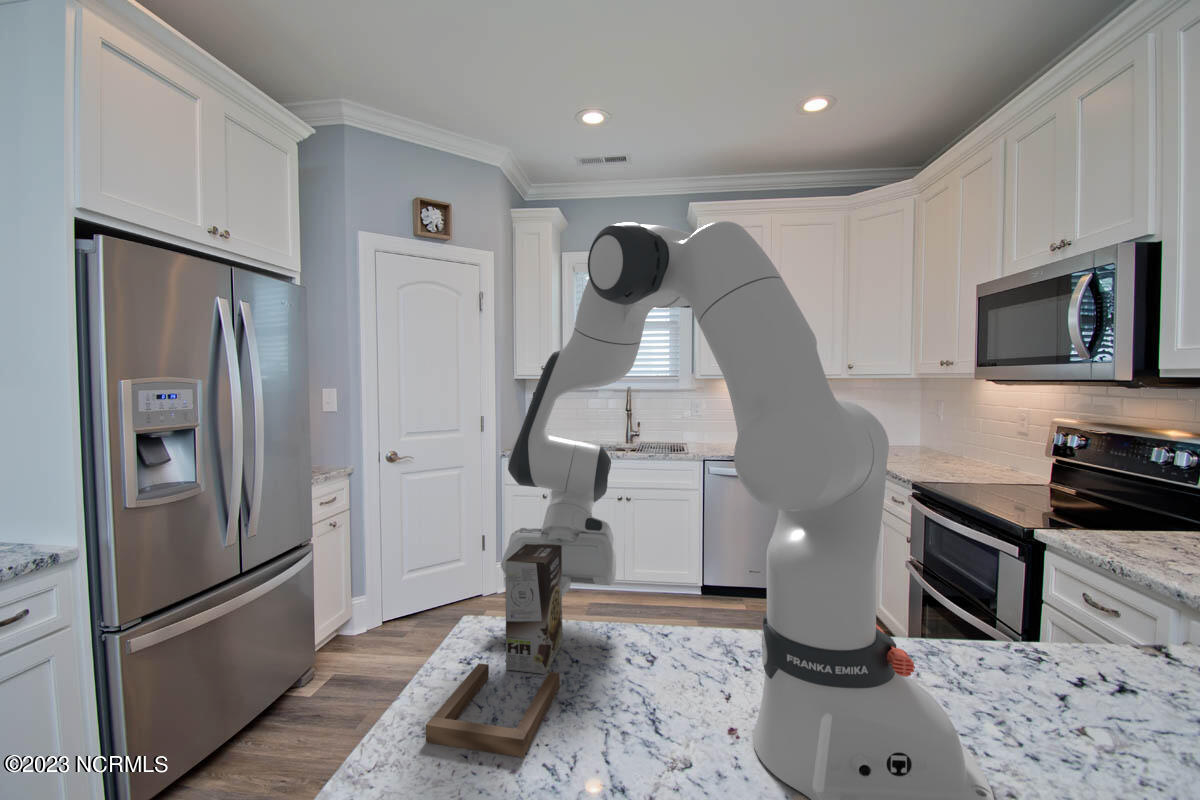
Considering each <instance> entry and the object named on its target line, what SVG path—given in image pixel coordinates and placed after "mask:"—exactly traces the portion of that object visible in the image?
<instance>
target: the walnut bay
mask: <svg viewBox="0 0 1200 800" xmlns="http://www.w3.org/2000/svg"><path fill="white" fill-rule="evenodd" d="M489 671H490V670H489V664H488V663H487V664H486V663H478V664H477V665H476V666H475V667H474V668H473V669H472V670H471V672H470V673H469V674H468V675H467V676H466V678H465V679H464V680H463V681H462V682H461V683H460V684H459V686H457V688H456V689H455V690H454V692H452V693H451V694H450V695H449V697H448V699H446V701H444V703H443V704H442V705H441V706H440V707H439V709H438V710H437V711H436V712H435V713H434V714H433V716H432V717H431V718H430V719H429V720H428V721H427V722H426V724H425V743H428V744H435V745H442V746H449V747H454V748H455V747H456V748H461V749H465V750H466V749H468V750H471V751H472V750H473V751H479V752H486V753H492V754H500V755H506V756H510V755H511V756H512V757H516V756H517V758H524V757H525V756H526V754H527V752H528V750H529V748H530V746H531V744H532V742H533V740H534V738H535V736H536V734H537V733H538V731H539V729H540V726H541V725H542V723H543V721H544V719H545V717H546V715H547V713H548V712H549V709H550V707H551V706H552V704H553V702H554V700H555V698H556V695H557V694H558V692H559V690H560V687H561V680H560V679H561V676H560V675H561V674H560V672H557V671H556V672H555V671H548V672H547V675H546V676H545V678H544V679H543V681H542V683H541V685H540V687H539V689H538V690H537V692H536V693H535V695H534V697H533V698H532V700H531V702H530V704H529V705H528V707H527V708H526V711H525V712H524V714H523V716H522V717H521V718H520V721H519V722H518V724H517V726H516V728H512V727H506V726H499V725H492V724H485V723H478V722H470V721H465V720H458V718H460V716H461V715H462V713H464V711H465V710H466V708H467V707H468V706H469V704H470V703H471V702H472V701H473V699H474V698H475V696H476V695H477V694H478V693H479V692H480V691H481V689H482V688H483V687H484V685H485V684H486V683H487V681H488V680H489V678H490V675H489V673H490V672H489Z"/></svg>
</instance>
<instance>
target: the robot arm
mask: <svg viewBox="0 0 1200 800" xmlns="http://www.w3.org/2000/svg"><path fill="white" fill-rule="evenodd" d="M587 272H588V279H587V281H586V285H585V287H584V290H583V293H582V296H581V299H580V302H579V305H578V310H577V313H576V316H575V317H576V318H575V322H574V329H573V330H572V331H573V332H572V335H571V336H570V339H569V341H568V342H567V344H566V345H565V346H564V347H563V348H562V349H561V350H557V351H554V352H553V353H552V354H551V355H550V356H549V357H548V360H547V361H546V363H545V366H544V367H543V370H542V371H541V375H540V378H539V380H538V383H537V384H536V388H535V390H534V392H533V396H532V398H531V401H530V404H529V407H528V409H527V412H526V415H525V418H524V421H523V424H522V425H521V429H520V432H519V433H518V436H517V437H516V439H515V440H514V441H513V444H512V446H511V448H510V452H509V453H508V459H507V470H508V472H509V475H510V476H511V477H512V479H514V481H515V482H516V484H518V486H524V487H532V488H542V489H548V490H551V493H550V497H551V499H550V503H549V504H548V506H547V508H546V512H545V515H544V520H543V524H542V527H541V528H536V527H535V528H527V527H520V528H519V529H517V530H515V531H513V532H512V533H511V534H510V537H509V541H508V546H507V547H506V550H505V552H504V554H503V557H502V559H501V561H500V562H501V563H500V568H501V570H502V572H503V574H504V575H505V576H506V560H507V559H508V558H510V557H511V556H512V555H513V554H514V553H516V552H517V551H518V550H519V549H520V548H521V547H523V546H524V545H525V544H535V545H537V544H550V545H561V546H562V598H563V597H564V596H565V595H566V593H567V592H568V591H569V590H571V589H570V588H571V584H572V583H573V584H585V585H587V584H588V585H599V586H600V585H601V586H611V585H612V584H613V583H614V582H615V580H616V575H617V557H616V552H615V549H614V544H615V543H614V534H613V530H612V528H611V526H610V524H609V523H608V522H607V521H605V520H603V519H599V518H597V517H593V508H594V506H595V504H596V502H598V501H599V500H600V499H602V497H604V496H605V495H606V493H607V490H608V480H609V479H608V477H609V474H610V471H611V464H612V460H611V458H610V455H609V454H608V452H607V451H606V450H605V449H604V447H603V446H601V445H598V444H595V443H590V442H587V441H580V440H574V439H569V438H566V437H565V438H564V437H560V436H556V435H552V434H549V433H547V431H546V430H545V429H546V427H547V424H548V421H549V419H550V417H551V413H552V411H553V409H554V405H555V404H556V401H557V400H558V399H559V398H560V397H561V396H563V395H565V394H567V393H570V392H571V393H572V392H574V391H580V390H583V389H584V390H585V389H593V388H601V387H605V386H608V385H610V384H613V383H616V382H618V381H619V380H621V379H622V378H624V377H625V376H626V375H627V374H628V373H630V371H631V370H632V369H633V366H634V363H635V361H636V359H637V356H638V352H639V350H640V345H641V342H642V338H643V332H644V327H645V322H646V320H647V316H648V314H649V313H650V312H651V311H652V310H653V309H654V308H657V309H671V308H672V309H673V308H675V309H676V308H682V309H683V308H685V309H689V308H690V309H691V311H692V313H693V315H694V318H695V319H696V321H697V322H696V323H698V326H699V328H700V330H701V333H702V334H703V336H704V338H705V340H706V342H707V344H708V347H709V349H710V351H711V352H712V355H713V357H714V358H715V361H716V364H717V365H718V368H719V369H720V371H721V373H722V376H723V378H724V382H725V385H726V387H727V390H728V394H729V397H730V402H731V407H732V410H733V415H734V420H735V426H736V431H737V438H736V442H735V446H734V453H733V461H734V462H733V463H734V468H735V473H736V475H737V478H738V479H739V481H740V482H739V483H740V484H741V485H742V487H743V489H745V491H746V492H747V493H748V494H749V495H750V496H751V497H753V499H754V500H755V501H757V502H758V503H760V504H762V505H764V506H766V507H768V508H770V509H774V510H778V516H777V520H776V522H775V523H776V524H775V526H774V530H773V534H772V536H771V538H770V540H769V543H768V545H767V550H766V614H765V615H764V616H763V619H762V629H761V657H762V658H761V662H762V665H763V670H764V678H763V679H764V680H763V689H762V695H761V701H760V707H759V711H758V715H757V716H758V717H757V720H756V723H755V726H754V729H753V732H752V744H753V748H754V750H755V753H756V755H757V756H758V758H759V760H761V762H762V763H763V765H764V766H765V767H766V768H767V769H768V770H769V771H770V772H771V773H772V774H773V775H774V776H775V777H776V778H778V779H779V780H781V781H782V782H784V783H785V784H787V785H788V786H790V787H791V788H793V789H795V790H797V791H798V792H800V793H802V794H803V795H805V796H806V797H807V798H808V799H810V800H995V797H994V793H993V790H992V787H991V785H990V783H989V781H988V778H987V777H986V775H985V774H984V773H983V771H982V769H981V768H980V766H979V765H978V764H977V762H976V761H975V759H974V758H973V757H972V756H971V754H970V753H968V751H967V750H966V749H965V748H964V747H963V746H962V744H961V741H960V738H959V734H958V733H957V730H956V728H955V726H954V724H953V722H952V720H951V718H950V716H948V713H946V711H945V709H943V707H942V706H941V705H940V703H939V702H938V701H937V700H936V699H935V698H934V697H933V696H932V694H930V693H929V692H928V691H927V690H926V689H925V688H923V687H922V686H921V685H919V683H917V682H916V681H914V680H913V679H912V678H910V676H911V675H912V674H913V673H915V669H916V666H915V663H914V661H913V659H912V658H911V657H910V656H909V655H908V653H907V651H905V650H903V649H902V648H898V647H897V644H896V642H895V641H894V639H893V638H892V637H891V636H889V635H888V634H886V633H885V632H884V630H883V628H881V627H880V626H878V625H877V558H878V550H879V549H878V548H879V541H880V534H881V526H882V520H883V511H884V503H885V502H884V501H885V493H886V480H887V468H888V467H887V466H888V458H889V452H890V445H889V444H890V443H889V437H888V434H887V431H886V429H885V428H884V426H883V425H882V423H881V422H880V421H879V419H877V417H876V416H875V415H873V413H871V412H870V411H869V410H867V409H865V408H864V407H862V406H860V405H858V404H856V403H853V402H850V401H843V400H837V399H836V397H835V395H834V393H833V391H832V389H831V387H830V385H829V382H828V379H827V377H826V374H825V371H824V367H823V365H822V362H821V359H820V355H819V352H818V346H817V345H818V344H817V343H818V342H817V337H816V335H815V332H814V331H813V330H812V328H811V327H810V324H809V323H808V320H807V319H806V317H805V315H804V314H803V312H802V310H801V308H800V307H799V305H798V303H797V302H796V300H795V298H794V296H793V294H792V293H791V291H790V290H789V287H788V286H787V284H786V283H785V281H784V279H783V277H782V276H781V274H780V272H779V271H778V269H777V268H776V266H775V264H774V263H773V262H772V260H771V258H770V257H769V256H768V255H767V254H766V252H765V251H764V249H763V248H762V246H760V244H759V243H758V241H756V240H755V239H754V238H753V236H752V235H751V234H750V233H749V232H748V231H747V230H746V229H745V228H744V227H743V226H741V225H740V224H738V223H736V222H734V221H727V220H721V221H715V222H711V223H709V224H705V225H704V226H703V227H700V228H698V229H697V230H696V231H694V232H693V233H691V232H688V231H684V230H680V229H676V228H673V227H671V226H666V225H665V226H664V225H658V224H657V225H655V224H639V223H638V222H637V223H636V222H621V223H616V224H611V225H608V226H606V227H604V228H603V229H601V230H600V231H599V232H598V234H596V237H594V240H593V241H592V243H591V246H590V249H589V252H588V256H587Z"/></svg>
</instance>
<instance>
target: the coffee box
mask: <svg viewBox="0 0 1200 800" xmlns="http://www.w3.org/2000/svg"><path fill="white" fill-rule="evenodd" d="M562 646H563V597H562V546H561V545H550V544H537V545H535V544H525V545H524V546H523V547H521V548H520V549H519V550H518V551H517V552H516V553H514V554H513V555H512V556H511V557H510V558H508V559H507V560H506V575H505V669H506V671H507V670H509V671H517V672H525V673H534V674H539V675H540V674H541V675H544V674H547V673H548V671H549V668H550V667H551V666H552V663H553V662H554V660H555V658H556V656H557V655H558V652H559V650H560V649H561V647H562Z"/></svg>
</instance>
